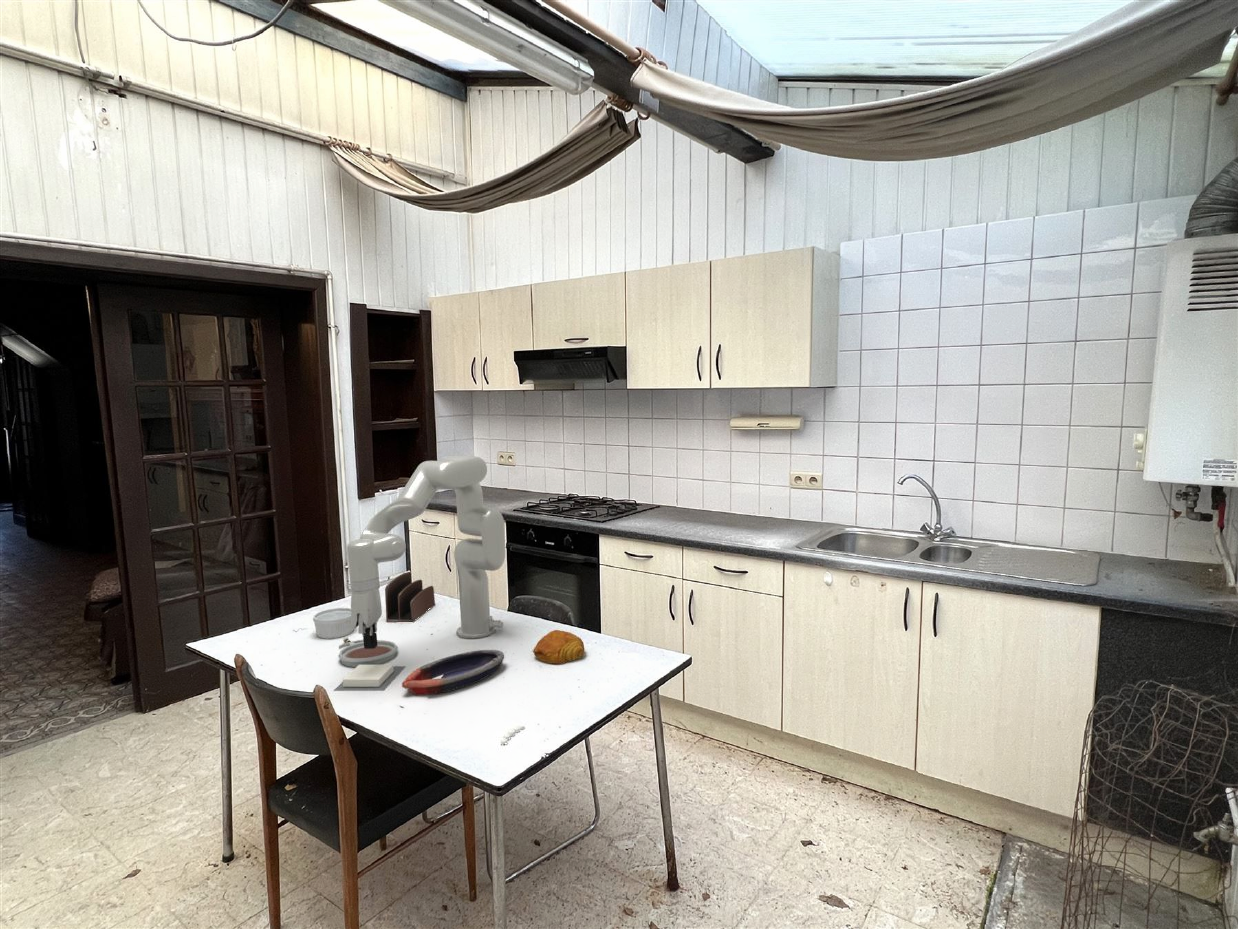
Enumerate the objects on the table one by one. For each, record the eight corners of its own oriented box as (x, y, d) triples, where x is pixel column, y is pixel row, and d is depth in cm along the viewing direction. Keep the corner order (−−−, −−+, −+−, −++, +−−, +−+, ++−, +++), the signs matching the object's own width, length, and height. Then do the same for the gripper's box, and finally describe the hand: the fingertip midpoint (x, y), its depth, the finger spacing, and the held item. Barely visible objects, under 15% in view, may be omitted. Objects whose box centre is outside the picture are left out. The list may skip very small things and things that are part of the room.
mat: (406, 667, 197) (405, 666, 196) (384, 692, 181) (384, 690, 181) (359, 668, 197) (359, 666, 197) (333, 692, 181) (333, 690, 181)
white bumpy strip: (522, 722, 163) (522, 716, 163) (537, 728, 161) (538, 722, 161) (483, 752, 149) (484, 745, 149) (500, 759, 148) (500, 753, 147)
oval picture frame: (370, 629, 224) (407, 648, 203) (371, 637, 224) (407, 657, 204) (317, 641, 213) (350, 662, 192) (318, 650, 213) (350, 672, 192)
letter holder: (386, 623, 237) (383, 584, 235) (410, 605, 256) (408, 569, 255) (412, 623, 236) (410, 584, 234) (435, 605, 255) (433, 569, 254)
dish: (517, 672, 192) (516, 656, 191) (414, 707, 172) (413, 689, 171) (489, 657, 203) (488, 641, 203) (390, 688, 184) (389, 671, 183)
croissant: (561, 649, 213) (558, 624, 213) (593, 655, 202) (590, 629, 202) (524, 662, 203) (521, 635, 204) (555, 669, 192) (553, 641, 192)
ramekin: (365, 630, 229) (363, 611, 228) (330, 643, 218) (328, 622, 217) (340, 624, 236) (339, 605, 236) (306, 636, 225) (304, 616, 225)
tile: (393, 664, 192) (378, 679, 182) (393, 672, 192) (379, 687, 182) (358, 664, 193) (342, 679, 183) (359, 672, 193) (343, 687, 183)
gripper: (363, 576, 194) (369, 637, 196) (339, 593, 179) (345, 659, 181) (388, 575, 193) (394, 637, 196) (366, 592, 179) (372, 658, 181)
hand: (370, 647), depth 189 cm, fingers closed
